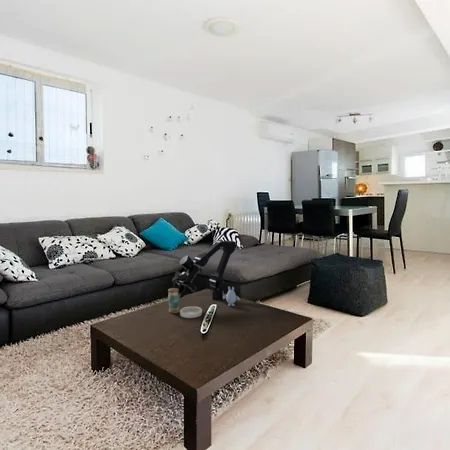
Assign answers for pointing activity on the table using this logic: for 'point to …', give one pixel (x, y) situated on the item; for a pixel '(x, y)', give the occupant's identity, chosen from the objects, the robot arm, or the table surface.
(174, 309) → the disc
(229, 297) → the toy figure
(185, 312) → the ceramic dish
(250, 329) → the table surface
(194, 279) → the robot arm
